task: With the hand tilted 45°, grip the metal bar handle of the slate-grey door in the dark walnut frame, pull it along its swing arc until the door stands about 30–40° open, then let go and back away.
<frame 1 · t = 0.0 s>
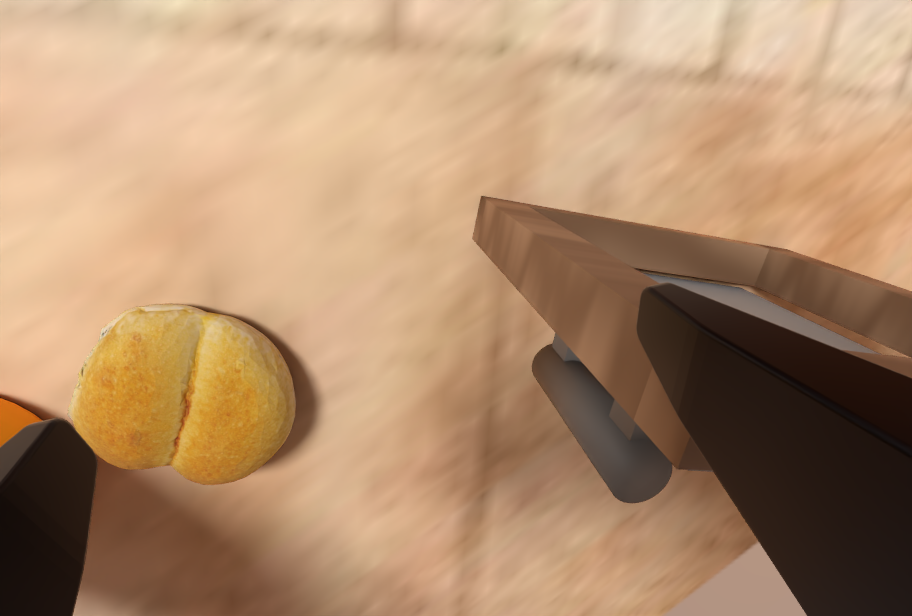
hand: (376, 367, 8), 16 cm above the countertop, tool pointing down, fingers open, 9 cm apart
door: (704, 393, 20), point 7 cm above the countertop, hinge at 0.0°
bread roll: (196, 382, 25), on the countertop
door frame: (631, 269, 26), on the countertop
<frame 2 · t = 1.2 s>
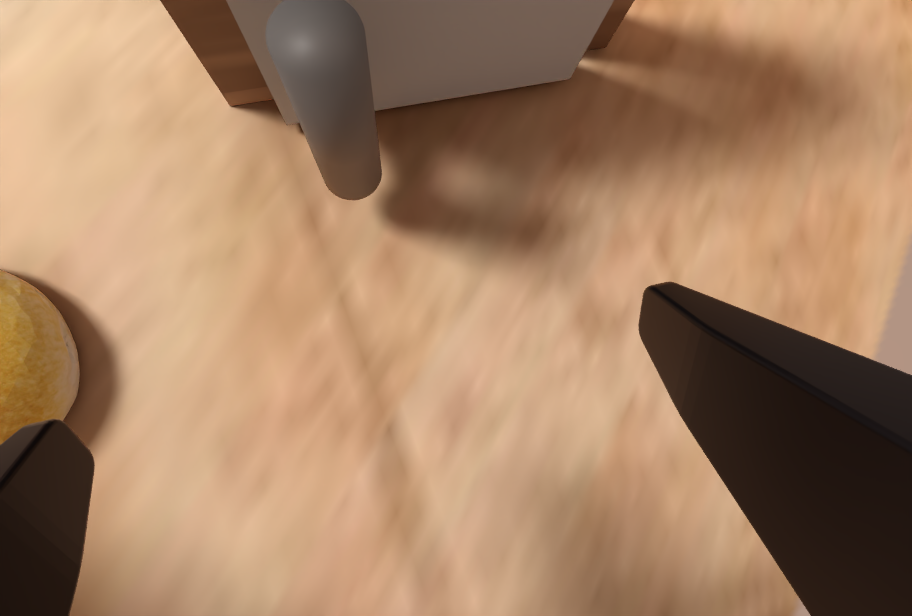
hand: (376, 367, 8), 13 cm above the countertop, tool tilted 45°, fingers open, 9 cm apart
door: (457, 29, 15), point 8 cm above the countertop, hinge at 0.0°
door frame: (427, 81, 23), on the countertop
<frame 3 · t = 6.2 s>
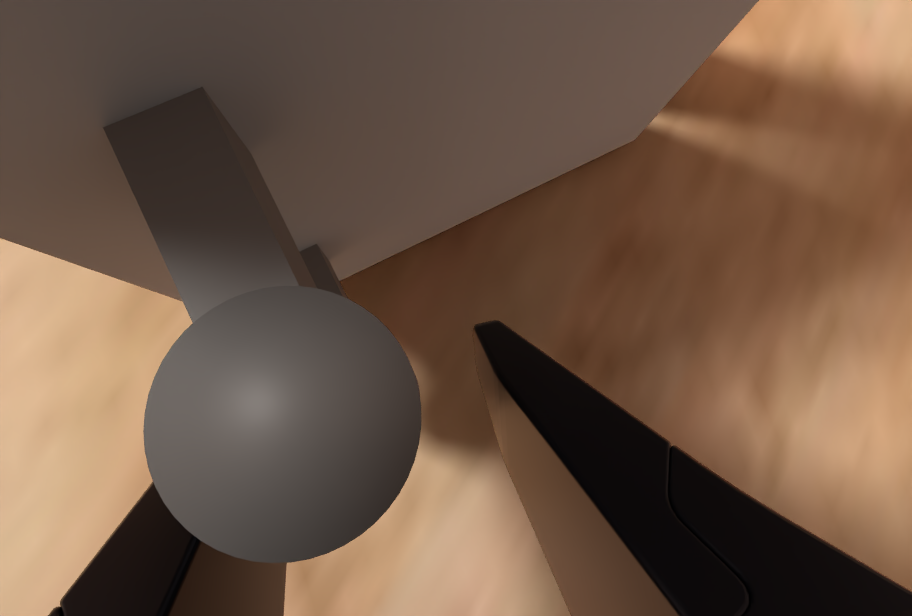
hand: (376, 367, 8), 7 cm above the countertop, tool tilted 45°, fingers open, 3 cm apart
door: (530, 180, 8), point 8 cm above the countertop, hinge at 16.0°, touching gripper
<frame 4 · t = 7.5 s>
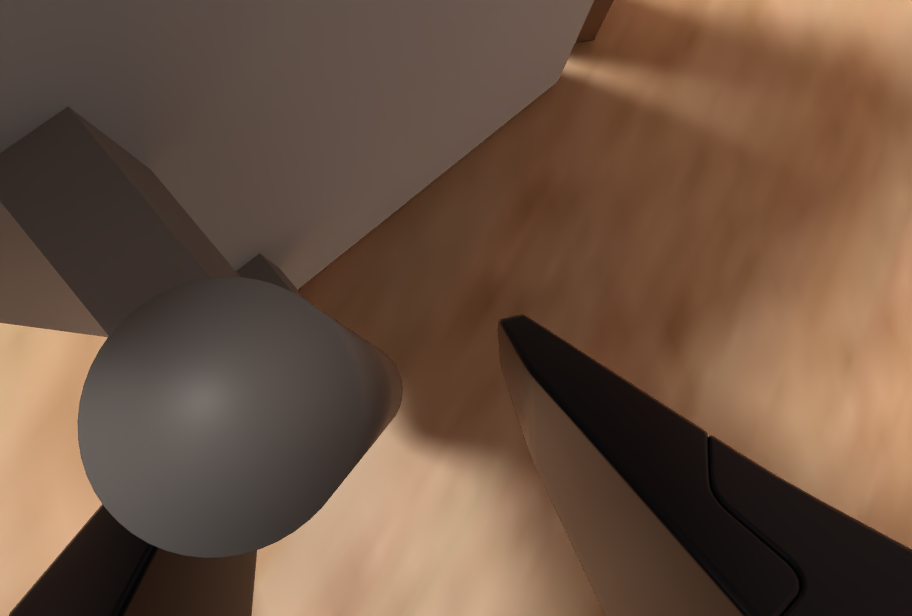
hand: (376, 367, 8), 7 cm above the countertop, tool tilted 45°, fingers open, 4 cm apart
door: (444, 135, 8), point 8 cm above the countertop, hinge at 29.7°, touching gripper
door frame: (327, 87, 16), on the countertop
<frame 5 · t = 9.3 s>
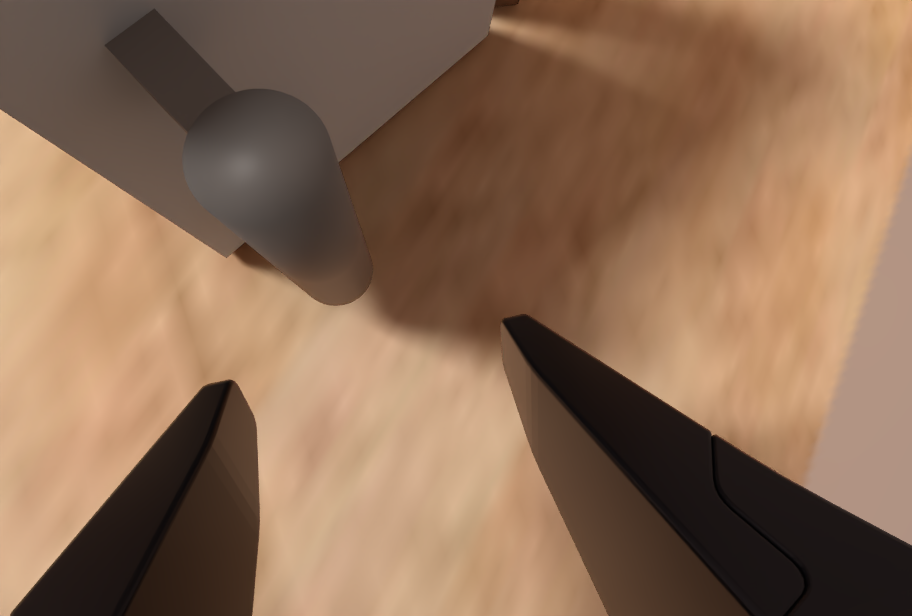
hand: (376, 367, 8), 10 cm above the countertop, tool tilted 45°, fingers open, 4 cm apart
door: (384, 46, 11), point 8 cm above the countertop, hinge at 32.3°
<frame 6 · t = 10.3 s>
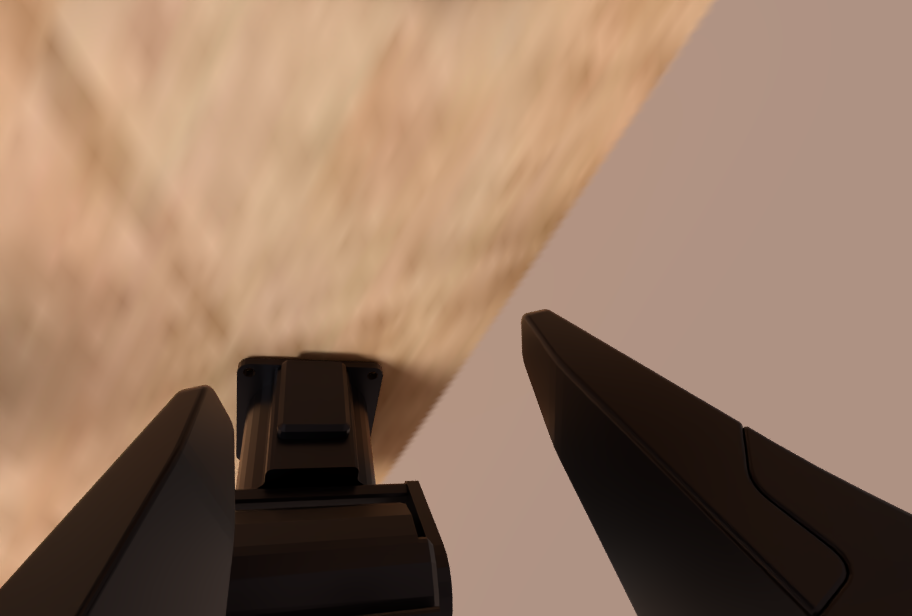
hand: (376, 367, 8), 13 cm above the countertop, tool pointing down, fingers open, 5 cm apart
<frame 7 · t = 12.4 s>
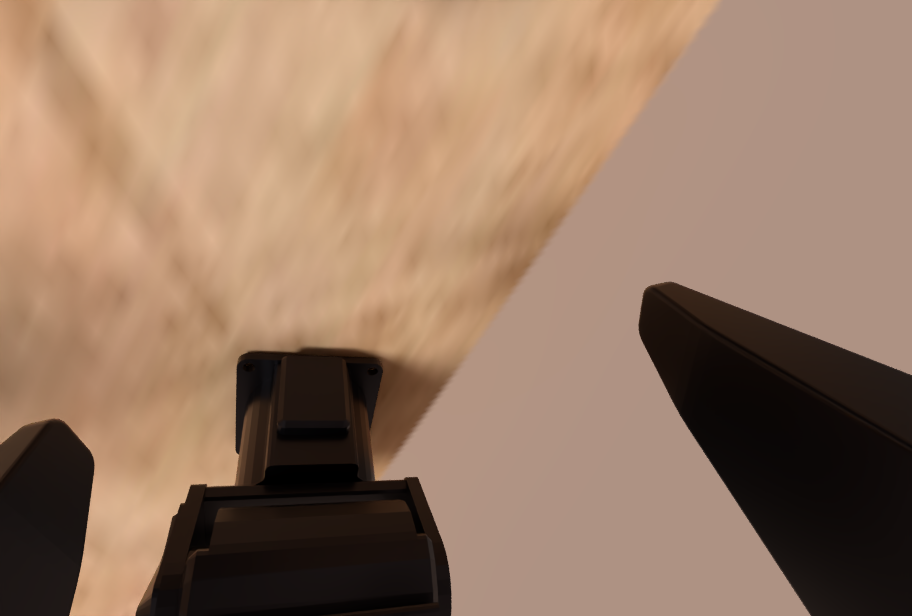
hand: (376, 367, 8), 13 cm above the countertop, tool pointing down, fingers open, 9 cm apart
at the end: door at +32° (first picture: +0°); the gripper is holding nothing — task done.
